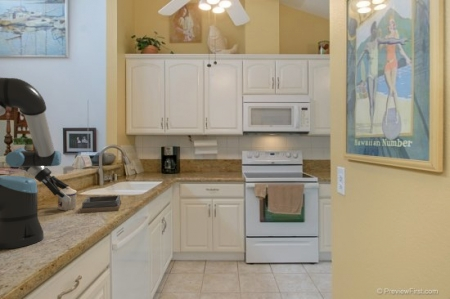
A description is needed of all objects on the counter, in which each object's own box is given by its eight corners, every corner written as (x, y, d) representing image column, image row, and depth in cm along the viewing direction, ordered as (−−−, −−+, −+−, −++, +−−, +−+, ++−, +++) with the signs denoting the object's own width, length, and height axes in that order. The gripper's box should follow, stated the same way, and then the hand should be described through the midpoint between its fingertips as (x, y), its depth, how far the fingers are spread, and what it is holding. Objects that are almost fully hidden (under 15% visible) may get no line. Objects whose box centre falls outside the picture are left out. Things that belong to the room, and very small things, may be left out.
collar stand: (118, 210, 149) (118, 201, 149) (80, 213, 144) (80, 203, 144) (121, 203, 168) (121, 194, 168) (88, 205, 163) (88, 196, 163)
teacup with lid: (55, 205, 154) (57, 184, 153) (74, 203, 160) (75, 184, 159) (58, 213, 145) (60, 191, 144) (78, 211, 151) (80, 190, 149)
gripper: (42, 175, 160) (72, 199, 165) (24, 180, 136) (60, 208, 141) (52, 165, 162) (82, 190, 166) (37, 168, 138) (72, 197, 142)
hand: (72, 198), depth 153 cm, fingers open, 13 cm apart
